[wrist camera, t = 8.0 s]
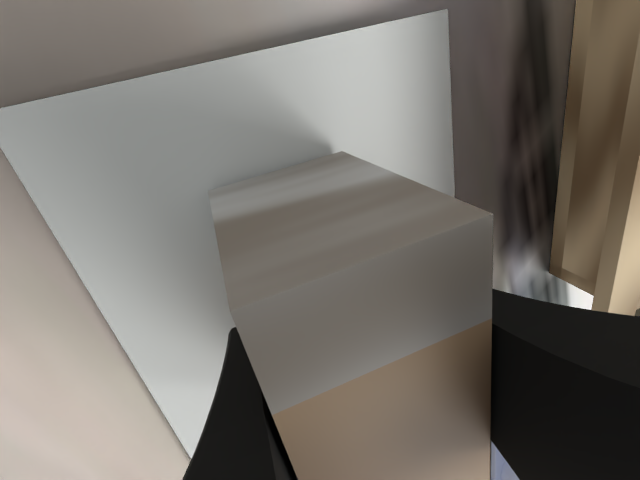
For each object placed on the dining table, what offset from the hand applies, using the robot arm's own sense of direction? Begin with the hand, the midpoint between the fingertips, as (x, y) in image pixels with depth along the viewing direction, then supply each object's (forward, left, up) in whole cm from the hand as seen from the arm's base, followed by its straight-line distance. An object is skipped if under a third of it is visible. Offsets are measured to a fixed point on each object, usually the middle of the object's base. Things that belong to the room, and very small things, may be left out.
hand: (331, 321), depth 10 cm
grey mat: (0, 0, -3) cm, 3 cm away
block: (0, 0, -2) cm, 2 cm away
